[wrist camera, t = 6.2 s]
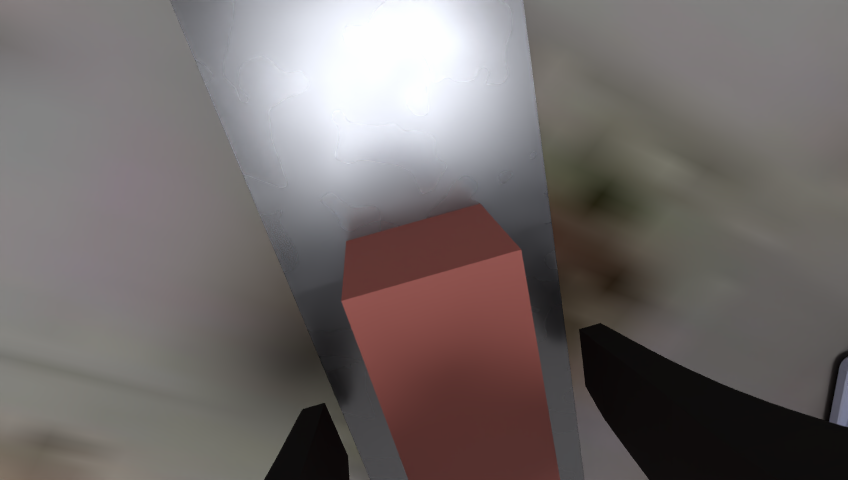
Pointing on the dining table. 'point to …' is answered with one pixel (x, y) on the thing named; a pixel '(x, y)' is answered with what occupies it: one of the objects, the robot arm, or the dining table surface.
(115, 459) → the dining table surface
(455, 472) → the clip
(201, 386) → the dining table surface
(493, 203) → the rail
